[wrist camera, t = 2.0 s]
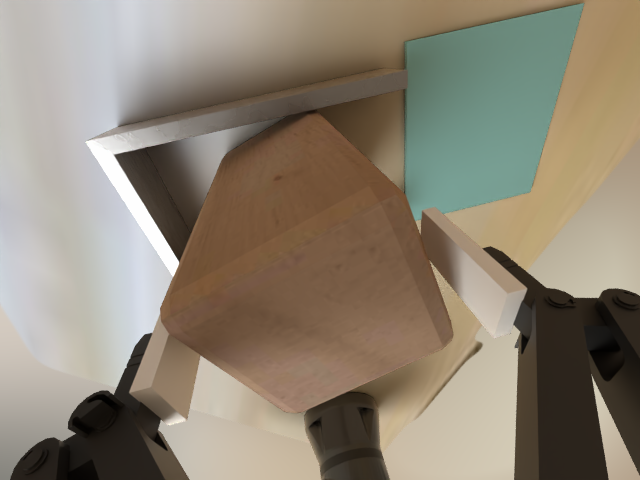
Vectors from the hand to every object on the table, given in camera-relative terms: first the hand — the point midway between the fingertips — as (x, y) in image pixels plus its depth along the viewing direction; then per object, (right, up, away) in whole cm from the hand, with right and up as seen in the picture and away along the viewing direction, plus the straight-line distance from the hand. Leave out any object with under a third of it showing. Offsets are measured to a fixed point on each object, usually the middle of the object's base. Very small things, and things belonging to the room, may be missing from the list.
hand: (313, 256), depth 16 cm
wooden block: (-3, +8, +12) cm, 15 cm away
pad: (+17, +12, +13) cm, 25 cm away
